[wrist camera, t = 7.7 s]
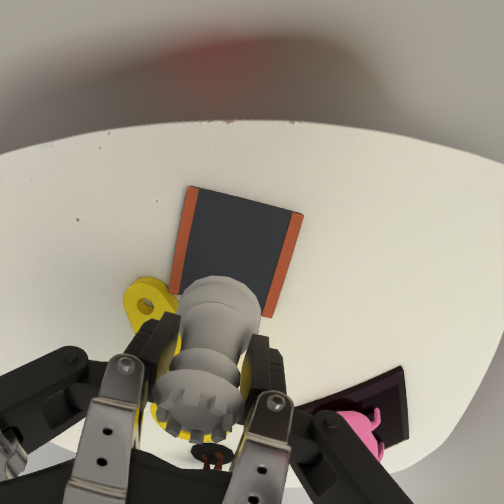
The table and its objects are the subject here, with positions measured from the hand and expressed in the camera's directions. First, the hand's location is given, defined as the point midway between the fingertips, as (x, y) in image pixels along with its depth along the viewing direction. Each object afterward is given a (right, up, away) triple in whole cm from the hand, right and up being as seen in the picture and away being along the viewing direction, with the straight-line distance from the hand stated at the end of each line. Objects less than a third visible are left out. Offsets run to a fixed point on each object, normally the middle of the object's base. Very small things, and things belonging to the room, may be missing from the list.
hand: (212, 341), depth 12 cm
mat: (0, +4, +13) cm, 14 cm away
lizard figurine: (+17, -21, +20) cm, 34 cm away
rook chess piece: (0, +1, +3) cm, 3 cm away
